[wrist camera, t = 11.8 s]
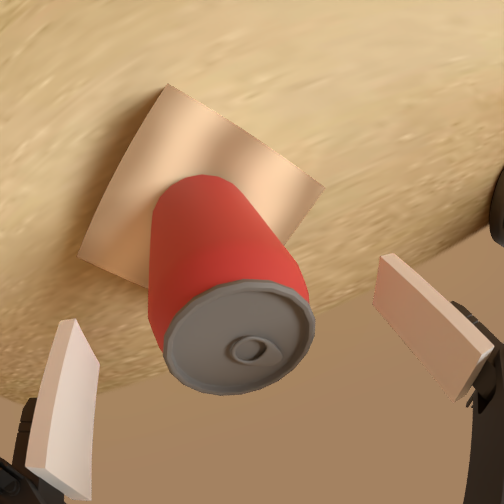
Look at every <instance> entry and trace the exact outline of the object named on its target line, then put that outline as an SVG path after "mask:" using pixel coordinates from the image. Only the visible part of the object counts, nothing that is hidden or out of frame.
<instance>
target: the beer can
mask: <svg viewBox="0 0 504 504" xmlns="http://www.w3.org/2000/svg"><path fill="white" fill-rule="evenodd" d="M148 319H149V322H150V325H151V328H152V331H153V333H154V336H155V338H156V341H157V343H158V346H159V348H160V349H161V351H162V352H163V357H164V360H165V362H166V364H167V367H168V369H169V371H170V373H171V374H172V375H173V376H174V377H176V378H177V379H178V380H179V381H180V382H181V383H182V384H183V385H186V386H188V387H190V388H192V389H194V390H197V391H199V392H202V393H207V394H214V395H220V396H221V395H222V396H223V395H239V394H245V393H248V392H252V391H256V390H259V389H262V388H264V387H266V386H268V385H271V384H272V383H275V382H277V381H279V380H280V379H281V378H283V377H284V376H285V375H287V374H288V373H289V372H290V371H292V370H293V369H294V368H295V367H296V366H297V365H298V364H299V362H300V361H301V360H302V359H303V358H304V356H305V355H306V354H307V352H308V350H309V348H310V345H311V343H312V341H313V338H314V334H315V317H314V315H313V312H312V310H311V308H310V305H309V293H308V290H307V287H306V284H305V281H304V279H303V276H302V274H301V271H300V269H299V266H298V264H297V263H296V261H295V260H294V259H293V257H292V256H291V255H290V253H289V252H288V251H287V249H286V248H285V247H284V246H283V244H282V243H281V242H280V240H279V239H278V238H277V236H276V235H275V234H274V233H273V231H272V230H271V229H270V227H269V226H268V225H267V224H266V222H265V221H264V220H263V218H262V217H261V216H260V215H259V213H258V212H257V211H256V209H255V208H254V207H253V206H252V204H251V203H250V202H249V201H248V199H247V198H246V197H245V196H244V194H243V193H242V192H241V191H240V190H239V189H238V188H237V187H236V186H235V185H234V184H233V183H231V182H229V181H227V180H225V179H223V178H221V177H218V176H211V175H203V174H201V175H196V176H191V177H186V178H184V179H182V180H180V181H178V182H176V183H175V184H173V185H171V186H170V187H169V188H168V189H167V190H166V191H165V192H164V193H163V194H162V195H161V196H160V197H159V199H158V201H157V204H156V206H155V208H154V210H153V213H152V224H151V238H150V257H149V287H148Z"/></svg>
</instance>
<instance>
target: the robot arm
mask: <svg viewBox="0 0 504 504" xmlns="http://www.w3.org/2000/svg"><path fill="white" fill-rule="evenodd" d="M489 225H490V233H491V236H492V238H493V240H494V241H495V242H497V243H498V244H500V245H501V246H503V247H504V170H503V171H502V173H501V176H500V178H499V180H498V183H497V186H496V189H495V192H494V195H493V199H492V204H491V210H490V220H489ZM373 306H374V307H375V308H376V309H377V311H378V312H379V313H380V314H381V315H382V316H383V318H384V319H385V320H386V321H387V322H388V323H389V324H390V326H391V327H392V328H393V329H394V331H395V332H396V333H397V334H398V335H399V337H400V338H401V339H402V340H403V341H404V343H405V344H406V345H407V346H408V347H409V348H410V350H411V351H412V352H413V353H414V355H415V356H416V357H417V358H418V360H419V361H420V362H421V363H422V365H423V366H424V367H425V368H426V369H427V371H428V372H429V373H430V375H431V376H432V377H433V378H434V380H435V381H436V382H437V383H438V384H439V386H440V387H441V388H442V390H443V391H444V392H445V393H446V395H447V396H448V398H449V399H450V400H451V401H452V403H454V402H456V401H457V400H459V399H460V398H462V397H463V396H465V395H466V394H467V393H468V391H469V389H470V388H471V386H472V385H473V387H474V388H475V389H476V390H475V391H474V393H473V394H472V396H471V397H470V399H469V400H468V402H467V404H466V407H469V405H470V404H471V402H472V401H473V405H472V407H471V408H473V425H472V440H471V452H470V453H471V454H470V462H469V471H468V478H467V485H466V491H465V497H464V502H463V504H504V344H502V343H501V342H500V341H499V340H498V339H497V338H496V337H495V336H494V335H493V334H492V333H491V332H490V331H489V330H488V329H487V328H486V327H485V326H484V325H483V324H482V323H480V322H478V319H477V318H475V317H474V316H472V314H471V313H470V312H469V311H468V310H467V309H466V308H465V307H464V306H462V305H460V304H458V303H456V302H454V301H452V302H449V301H448V300H446V299H445V297H443V296H442V295H441V294H440V293H439V292H438V291H437V290H436V289H435V288H433V287H432V286H431V285H430V284H429V283H428V282H427V281H425V280H424V279H423V278H422V277H421V276H420V275H419V274H418V273H416V272H415V271H414V270H413V269H412V268H411V267H409V266H408V265H407V264H406V263H405V262H404V261H402V260H401V259H400V258H399V257H398V256H396V255H395V254H394V253H391V254H387V255H383V256H380V261H379V268H378V274H377V281H376V287H375V293H374V299H373ZM99 368H100V364H99V362H98V360H97V358H96V356H95V355H94V353H93V351H92V349H91V347H90V346H89V344H88V342H87V340H86V338H85V336H84V334H83V332H82V330H81V328H80V326H79V324H78V322H77V320H76V318H74V319H68V320H62V321H60V323H59V325H58V328H57V331H56V334H55V337H54V341H53V344H52V347H51V350H50V353H49V357H48V360H47V364H46V367H45V371H44V374H43V378H42V382H41V386H40V390H39V394H38V398H29V400H28V402H27V403H26V405H25V406H24V408H23V411H22V415H21V420H20V421H21V423H20V424H19V429H18V431H19V433H17V438H16V444H15V450H14V455H13V461H12V465H11V464H9V463H8V462H7V461H5V460H4V459H2V458H0V504H66V503H65V502H64V495H66V496H68V497H69V498H71V499H72V500H86V501H91V468H92V441H93V426H94V413H95V402H96V393H97V384H98V376H99Z"/></svg>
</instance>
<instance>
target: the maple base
mask: <svg viewBox="0 0 504 504" xmlns="http://www.w3.org/2000/svg"><path fill="white" fill-rule="evenodd" d="M201 174H203V175H211V176H218V177H221V178H223V179H225V180H227V181H229V182H231V183H233V184H234V185H235V186H236V187H237V188H238V189H239V190H240V191H241V192H242V193H243V194H244V196H245V197H246V198H247V199H248V201H249V202H250V203H251V204H252V206H253V207H254V208H255V209H256V211H257V212H258V213H259V215H260V216H261V217H262V218H263V220H264V221H265V222H266V224H267V225H268V226H269V227H270V229H271V230H272V231H273V233H274V234H275V235H276V236H277V238H278V239H279V240H280V242H281V243H282V244H283V246H284V245H285V244H286V242H287V241H288V240H289V238H290V237H291V235H292V234H293V233H294V231H295V230H296V229H297V227H298V226H299V224H300V223H301V222H302V220H303V219H304V217H305V216H306V215H307V213H308V212H309V211H310V209H311V208H312V206H313V205H314V204H315V202H316V201H317V199H318V198H319V197H320V195H321V194H322V192H323V191H324V190H325V187H324V186H322V185H321V184H320V183H318V182H317V181H316V180H314V179H313V178H312V177H310V176H309V175H308V174H306V173H305V172H304V171H302V170H301V169H299V168H298V167H297V166H295V165H294V164H293V163H291V162H290V161H288V160H287V159H286V158H284V157H283V156H281V155H280V154H278V153H277V152H276V151H274V150H273V149H271V148H270V147H268V146H267V145H265V144H264V143H263V142H261V141H260V140H258V139H257V138H255V137H254V136H252V135H251V134H249V133H248V132H246V131H245V130H243V129H242V128H240V127H238V126H237V125H235V124H234V123H232V122H231V121H229V120H228V119H226V118H224V117H223V116H221V115H220V114H218V113H217V112H215V111H213V110H212V109H210V108H208V107H207V106H205V105H204V104H202V103H200V102H199V101H197V100H195V99H194V98H192V97H190V96H189V95H187V94H185V93H183V92H182V91H180V90H178V89H177V88H175V87H173V86H171V85H170V84H167V85H166V87H165V88H164V90H163V91H162V93H161V94H160V96H159V97H158V99H157V100H156V102H155V103H154V105H153V107H152V108H151V110H150V111H149V113H148V115H147V116H146V118H145V120H144V121H143V123H142V125H141V126H140V128H139V130H138V131H137V133H136V135H135V136H134V138H133V140H132V142H131V143H130V145H129V147H128V149H127V151H126V152H125V154H124V156H123V158H122V160H121V162H120V163H119V165H118V167H117V169H116V171H115V173H114V175H113V177H112V179H111V181H110V183H109V185H108V187H107V189H106V191H105V193H104V195H103V197H102V199H101V201H100V203H99V205H98V208H97V210H96V212H95V214H94V216H93V219H92V221H91V223H90V225H89V228H88V230H87V232H86V235H85V237H84V239H83V242H82V244H81V247H80V249H79V252H78V254H77V257H78V258H80V259H82V260H84V261H86V262H88V263H91V264H93V265H95V266H97V267H99V268H101V269H104V270H106V271H108V272H110V273H112V274H115V275H117V276H119V277H121V278H124V279H126V280H128V281H130V282H133V283H135V284H137V285H140V286H142V287H144V288H147V289H148V287H149V257H150V238H151V224H152V213H153V210H154V208H155V206H156V204H157V201H158V199H159V197H160V196H161V195H162V194H163V193H164V192H165V191H166V190H167V189H168V188H169V187H170V186H171V185H173V184H175V183H176V182H178V181H180V180H182V179H184V178H186V177H191V176H196V175H201Z"/></svg>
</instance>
